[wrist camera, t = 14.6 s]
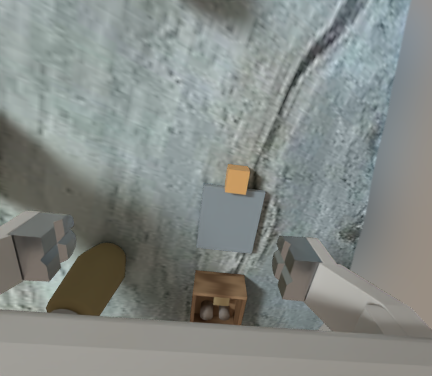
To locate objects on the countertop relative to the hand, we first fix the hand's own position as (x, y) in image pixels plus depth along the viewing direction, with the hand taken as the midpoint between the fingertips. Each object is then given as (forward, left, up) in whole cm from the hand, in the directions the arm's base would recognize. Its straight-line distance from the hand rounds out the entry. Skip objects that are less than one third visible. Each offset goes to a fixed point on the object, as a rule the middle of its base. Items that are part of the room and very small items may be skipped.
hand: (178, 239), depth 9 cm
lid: (+5, -12, -26) cm, 28 cm away
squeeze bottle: (-15, -24, -26) cm, 38 cm away
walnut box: (+5, -31, -25) cm, 40 cm away
